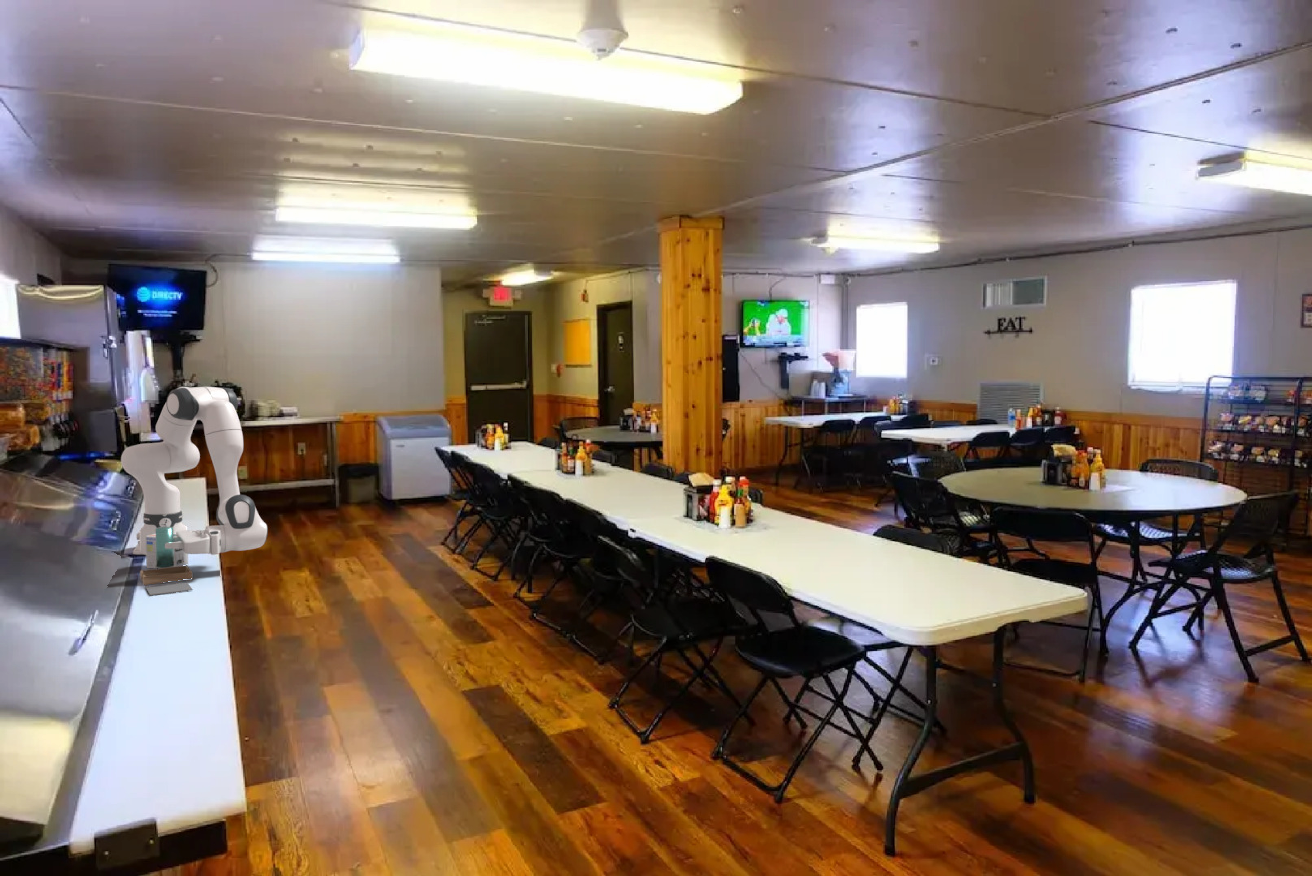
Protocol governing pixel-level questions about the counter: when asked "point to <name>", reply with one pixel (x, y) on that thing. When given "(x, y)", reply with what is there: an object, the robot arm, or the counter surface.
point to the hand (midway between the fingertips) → (163, 543)
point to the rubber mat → (167, 588)
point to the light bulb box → (179, 554)
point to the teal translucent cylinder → (162, 554)
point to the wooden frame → (165, 574)
